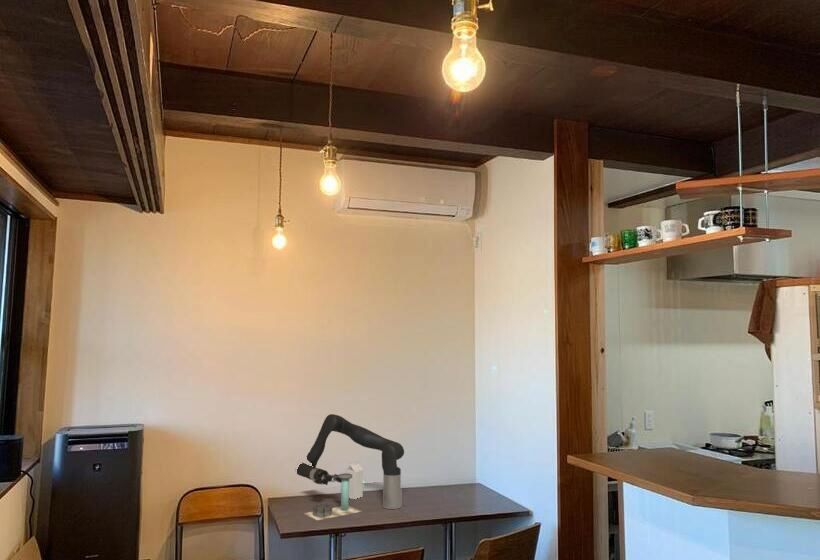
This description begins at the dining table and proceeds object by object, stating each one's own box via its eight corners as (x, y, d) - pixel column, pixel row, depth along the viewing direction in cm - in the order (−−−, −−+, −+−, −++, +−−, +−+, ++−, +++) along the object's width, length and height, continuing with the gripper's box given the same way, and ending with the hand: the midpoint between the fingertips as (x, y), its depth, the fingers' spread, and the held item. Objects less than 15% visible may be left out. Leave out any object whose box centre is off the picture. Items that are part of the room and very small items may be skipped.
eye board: (347, 508, 319) (347, 497, 319) (362, 514, 308) (362, 503, 308) (303, 516, 303) (303, 505, 304) (316, 523, 292) (317, 511, 293)
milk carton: (362, 497, 341) (363, 462, 343) (354, 499, 335) (355, 464, 337) (352, 495, 345) (353, 461, 347) (344, 497, 339) (345, 463, 341)
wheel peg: (346, 506, 315) (347, 472, 316) (354, 509, 309) (354, 475, 311) (335, 508, 311) (336, 474, 312) (342, 512, 305) (343, 477, 307)
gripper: (307, 470, 328) (322, 476, 316) (330, 467, 337) (346, 472, 324) (307, 484, 328) (322, 491, 315) (330, 481, 336) (345, 487, 324)
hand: (334, 481), depth 320 cm, fingers open, 8 cm apart
